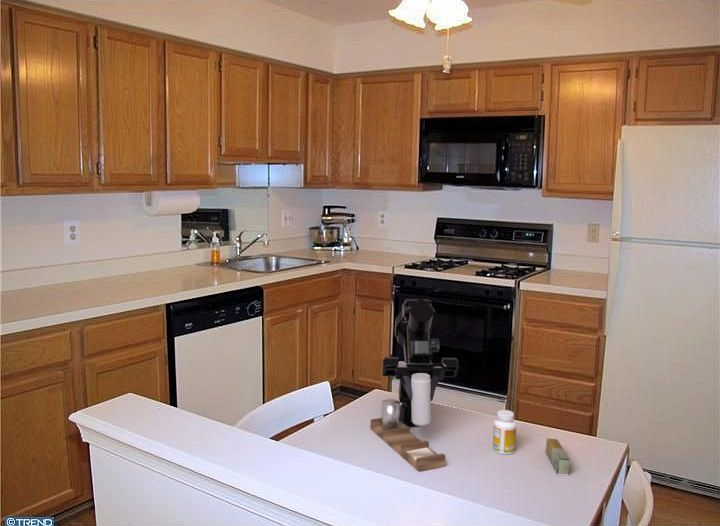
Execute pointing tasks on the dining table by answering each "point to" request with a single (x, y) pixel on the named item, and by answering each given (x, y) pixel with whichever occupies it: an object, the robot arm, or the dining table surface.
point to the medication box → (557, 456)
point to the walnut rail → (409, 447)
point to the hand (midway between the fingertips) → (421, 398)
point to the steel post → (390, 414)
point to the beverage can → (421, 399)
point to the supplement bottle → (504, 433)
